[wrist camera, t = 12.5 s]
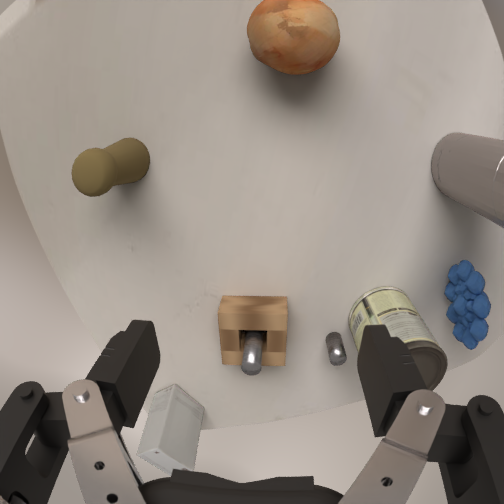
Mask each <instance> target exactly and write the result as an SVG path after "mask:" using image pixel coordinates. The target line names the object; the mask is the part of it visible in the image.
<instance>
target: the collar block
mask: <svg viewBox="0 0 504 504" xmlns="http://www.w3.org/2000/svg"><path fill="white" fill-rule="evenodd" d="M287 317H288V312H287V297H271V296H222V299H221V303H220V306H219V310H218V323H219V334H220V344H221V355H222V364H228V365H242V359H243V352H244V344H245V337H246V333H242V330H267V333H263V345H262V362H261V366H285V357H286V338H287Z"/></svg>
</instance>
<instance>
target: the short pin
mask: <svg viewBox="0 0 504 504" xmlns="http://www.w3.org/2000/svg"><path fill="white" fill-rule="evenodd" d="M326 343H327V348H328V353H329V358H330V362H331V364H333V365H341V364H343V363H344V362H345V361H346V359H347V357H346V353H345V349H344V346H343V342H342V338H341V335H340V334H339V333H337V332H332V333H329V334H328V335H327V337H326Z"/></svg>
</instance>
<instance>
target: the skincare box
mask: <svg viewBox="0 0 504 504" xmlns="http://www.w3.org/2000/svg"><path fill="white" fill-rule="evenodd" d="M203 412H204V407H203V406H201V405H200V404H199V403H198V402H196V401H195V400H194V399H193V398H191V397H190V396H189V395H188V394H187V393H185V392H184V391H183V390H182V389H181V388H179V387H178V386H177V385H176V384H175V385H172V386H170V387H168V388H166V389H163V390H161V391H159V392H157V393H156V394H155V396H154V399H153V402H152V405H151V408H150V412H149V415H148V418H147V421H146V425H145V428H144V431H143V435H142V438H141V441H140V444H139V448H138V451H137V454H136V455H137V456H139V457H140V458H142V459H144V460H145V461H147V462H149V463H150V464H152V465H154V466H155V467H157V468H158V469H160V470H162V471H164V472H165V473H167V474H169V475H170V476H171V475H172V471H173V469H179V470H186V471H193V470H194V466H195V460H196V453H197V447H198V441H199V435H200V429H201V423H202V418H203Z"/></svg>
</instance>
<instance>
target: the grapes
mask: <svg viewBox="0 0 504 504" xmlns="http://www.w3.org/2000/svg"><path fill="white" fill-rule="evenodd" d="M448 278H449V279H450V281H451V282H449V283H448V285H447V286H446V289H445V295H446V297H447V298H448V299H449V300H450V301H451V302H453V303H451V305H450V306H449V307H448V310H447V313H446V315H447V317H448V318H449V320H450V321H451V322H452V323H454V324H455V326H454V329H453V334H454V336H455V338H456V339H457V340H458V341H460V342H463V343H464V345H465V346H466V347H467V348H468V349H471V350H472V349H474V348H475V347H476V346H477V345H478V342H479V341H482V340H484V338H485V337H486V336H487V333H488V327H489V326H488V324H487V322H486V321H485V318H486V317H487V316H488V315H489V312H490V309H491V303H490V301H489V298H488V296H487V295H486V293H485V292H484V291H483V289H484V286H485V280H484V278H483V276H482V275H481V274H480V273H479V272H477V271H475V269H474V267H473V265H472V264H471V263H470V262H469V261H468V260H463V261H461V262H460V263H459V265H457V264H455V265H453V266H452V267H451V269H450V271H449V274H448Z"/></svg>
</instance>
